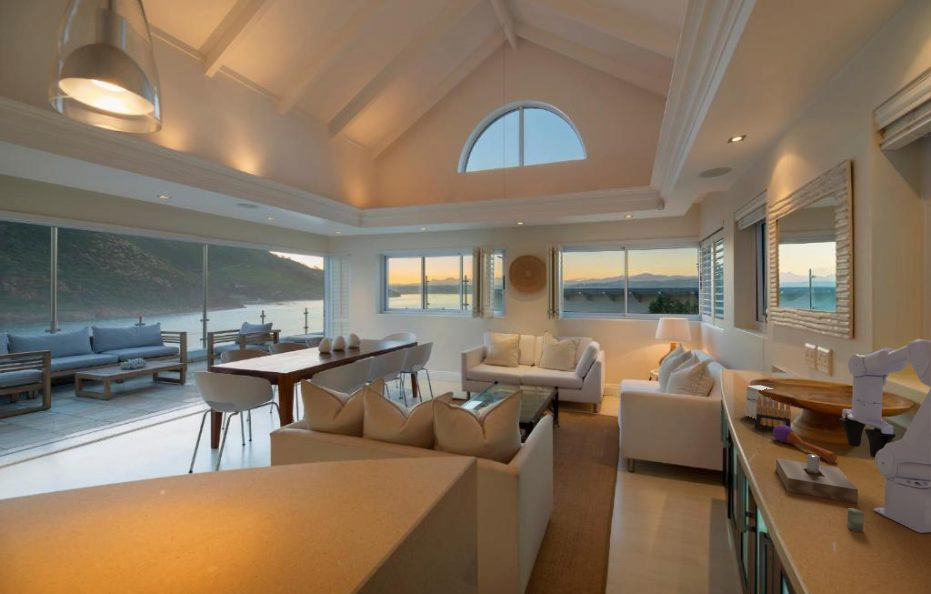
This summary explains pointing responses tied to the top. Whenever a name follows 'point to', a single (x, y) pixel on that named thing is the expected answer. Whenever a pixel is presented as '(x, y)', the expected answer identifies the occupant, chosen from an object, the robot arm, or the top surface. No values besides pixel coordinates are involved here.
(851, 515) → the green rectangular block
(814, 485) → the hole board
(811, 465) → the long pin
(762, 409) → the ammunition clip
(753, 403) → the supplement box
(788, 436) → the purple and brown maraca
